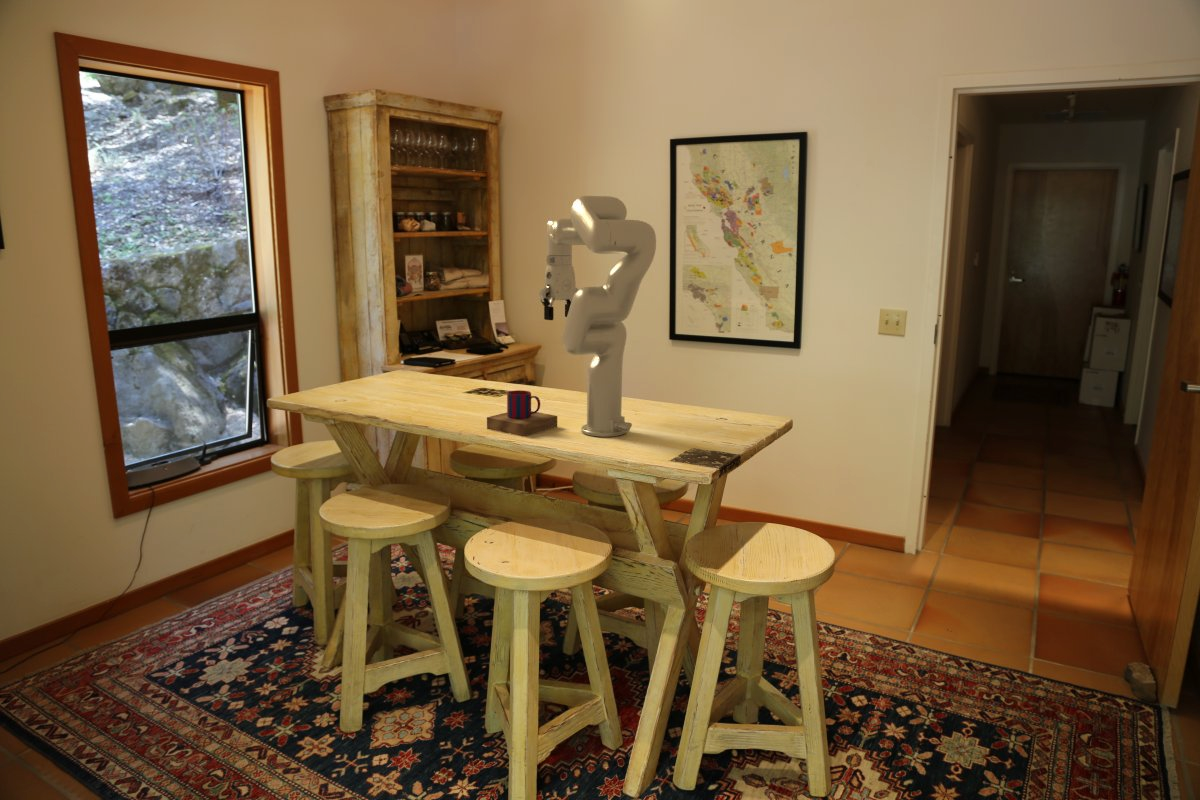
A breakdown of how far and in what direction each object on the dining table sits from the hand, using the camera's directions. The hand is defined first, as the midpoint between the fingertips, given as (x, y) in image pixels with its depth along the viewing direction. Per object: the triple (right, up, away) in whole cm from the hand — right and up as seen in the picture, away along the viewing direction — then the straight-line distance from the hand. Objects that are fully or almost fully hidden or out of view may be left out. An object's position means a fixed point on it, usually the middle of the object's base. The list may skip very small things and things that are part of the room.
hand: (559, 318), depth 256 cm
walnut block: (-10, -33, -18) cm, 39 cm away
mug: (-9, -30, -19) cm, 37 cm away
